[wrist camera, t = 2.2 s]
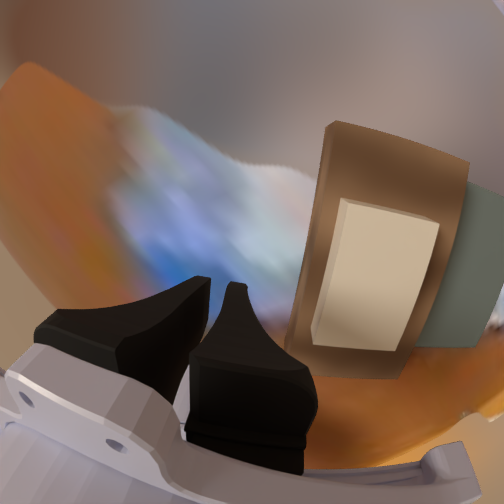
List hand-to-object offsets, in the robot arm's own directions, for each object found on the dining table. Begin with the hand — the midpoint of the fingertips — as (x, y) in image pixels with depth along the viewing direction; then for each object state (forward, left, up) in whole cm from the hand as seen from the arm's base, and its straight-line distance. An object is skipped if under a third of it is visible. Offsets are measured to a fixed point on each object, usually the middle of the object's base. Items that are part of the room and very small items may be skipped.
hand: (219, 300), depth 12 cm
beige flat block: (0, -8, -6) cm, 11 cm away
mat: (0, -20, -10) cm, 23 cm away
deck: (0, -9, -10) cm, 14 cm away
